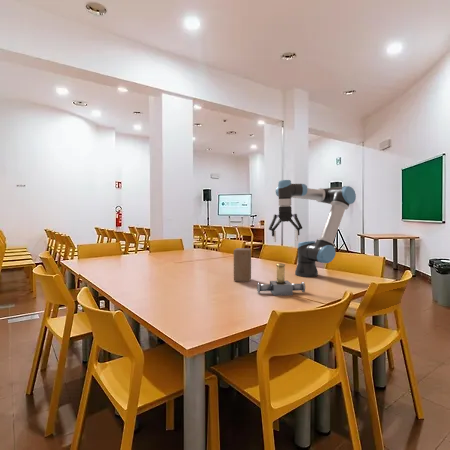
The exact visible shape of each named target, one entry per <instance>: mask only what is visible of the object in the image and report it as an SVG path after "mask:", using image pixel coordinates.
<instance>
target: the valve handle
mask: <svg viewBox="0 0 450 450" xmlns="http://www.w3.org/2000/svg"><path fill="white" fill-rule="evenodd" d="M275 265H276V281H277V284H284V281H286V280H285V279H286V277H285V273H286V272H285V267H286V264H285V263H276V264H275Z"/></svg>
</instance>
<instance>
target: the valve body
mask: <svg viewBox="0 0 450 450" xmlns="http://www.w3.org/2000/svg"><path fill="white" fill-rule="evenodd" d="M256 289H257V291H256V292H257V293H258V294H259V293H261V292H270V293H271V294H272V295H273V296H274V297H277V296H282V297H283V296H293V294H294V293H293V292H295V291H298V292H299V291H300V292H302V293H305V292H306V283H305V282H304V281H301V282H300V283H292V282H290V281H289V280H285V281H284V284H277V280H269V283H268V284H267V283H264V284H263V283H262V284H260V282H257V285H256Z"/></svg>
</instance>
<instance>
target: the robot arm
mask: <svg viewBox="0 0 450 450" xmlns="http://www.w3.org/2000/svg"><path fill="white" fill-rule="evenodd" d="M277 183H278V184H277V185H278V186H277V187H276V189H275V195H276V196H277V198H278V214H276V213H275V214H273V219H272V220H271V223H270V224H269V227H268V230H269V231H271V236H272V237H273V243H276V242H277V231H276V229H277V227H279V226H280V224H281V223H282V222H289V223H291V225H292V226H293V227H294V229H295V230H294V233H295V238H294V239H295V241H296V242H298V243H297V244H298V245H297V265H296V268H295V270H294V271H295V273H294V275H295V276H298V277H303V278H304V277H306V278H311V277H312V278H313V277H314V276H315V277H318V276H317V275H319V271H318V268H317V265H316V262H317V263H320V264H329V263H331V262H332V261H334V259H335V257H336V254H337V253H336V248H335V244H334V240H335V239H336V236H337V233H338V230H339V227H340V224H341V221H342V219H343V217H344V213H345V212H346V211H345V210H348V209H349V207H350V205H352V204H354V203H355V202H356V199H357V194H356V191H355V189H354V188H353V187H352V186H350V185H347V186H346V185H343V186H336V187H327V188H322V187H320V188H318V189H317V188H309V187H308V186H307V185H306V184H305V183H292V181H291V179H281V180H278V182H277ZM292 199H302V200H309V201H311V200H312V201H316V202H317V203H324V204H330V205H331V207H330V211H329V214H328V216H327V217H326V221H325V224H324V226H323V229H322V231H321V234H320V236H319V238H317V239H316V240H311V241H309V240H308V241H300V242H299V236H300V234H301V233H300V230H303V226H302V224H301V222H300V220H299V218H298V214H297V213H292ZM293 218H294V220H293ZM277 219H278V220H277ZM276 221H277V222H276ZM294 221H295V222H294ZM275 222H276V223H275Z"/></svg>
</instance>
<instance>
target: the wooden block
mask: <svg viewBox="0 0 450 450" xmlns="http://www.w3.org/2000/svg"><path fill="white" fill-rule="evenodd" d="M251 279H252V248H249V247H248V248H246V247H244V248H243V247H237V248H235V249H233V282H239V283H241V282H242V283H245V282H246V283H249V282H250V281H251Z"/></svg>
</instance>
